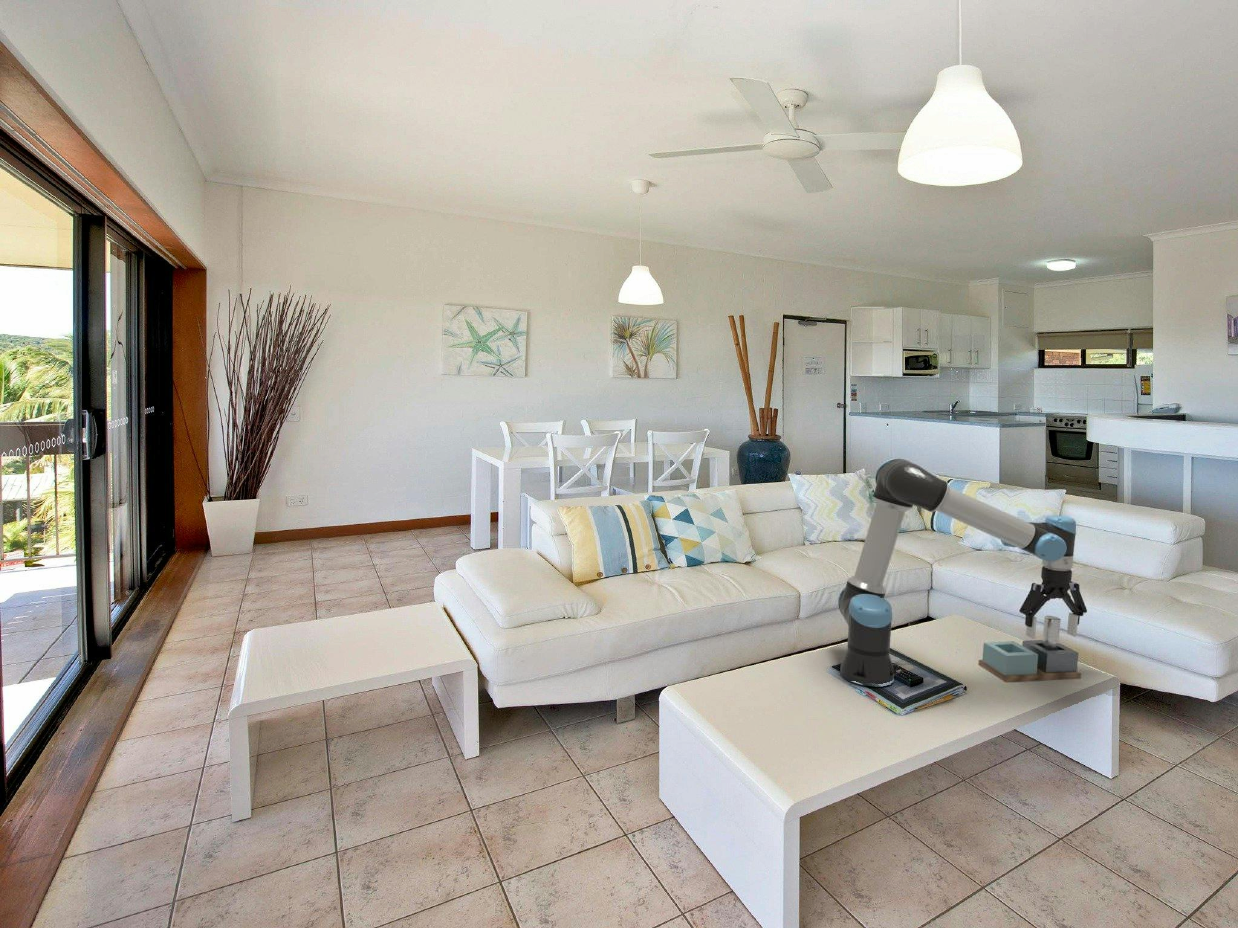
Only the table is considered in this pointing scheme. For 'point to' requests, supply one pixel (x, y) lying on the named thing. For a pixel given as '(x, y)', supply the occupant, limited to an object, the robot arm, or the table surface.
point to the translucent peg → (1051, 633)
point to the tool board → (1030, 675)
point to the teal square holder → (1010, 658)
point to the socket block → (1053, 657)
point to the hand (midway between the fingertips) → (1051, 635)
